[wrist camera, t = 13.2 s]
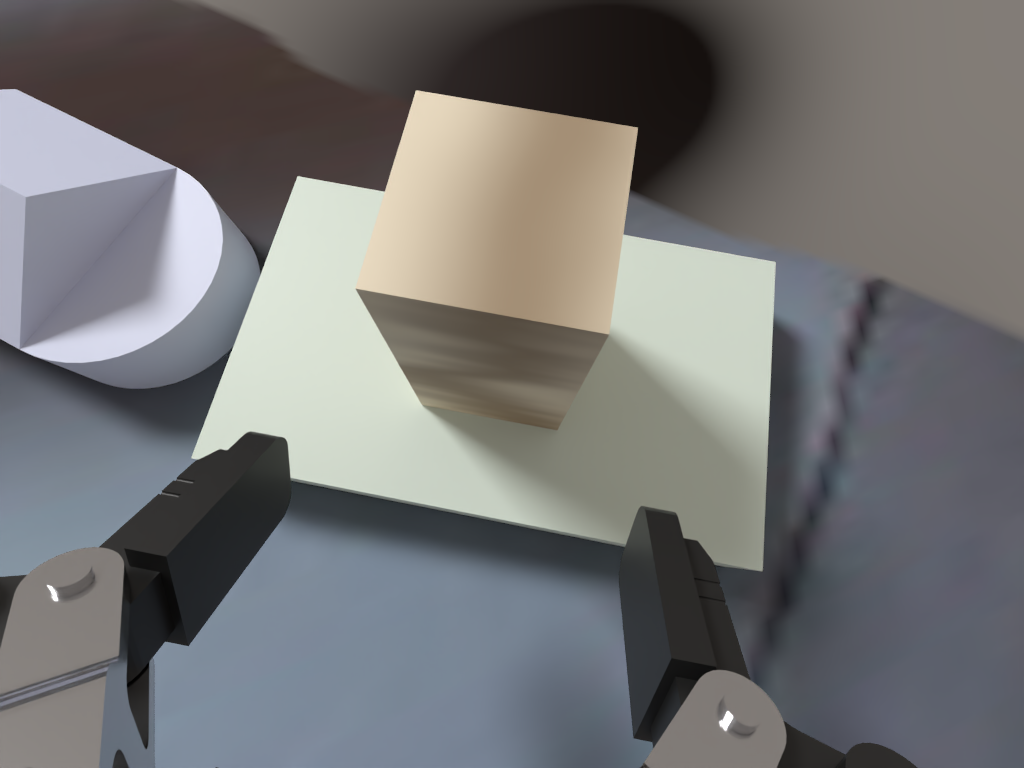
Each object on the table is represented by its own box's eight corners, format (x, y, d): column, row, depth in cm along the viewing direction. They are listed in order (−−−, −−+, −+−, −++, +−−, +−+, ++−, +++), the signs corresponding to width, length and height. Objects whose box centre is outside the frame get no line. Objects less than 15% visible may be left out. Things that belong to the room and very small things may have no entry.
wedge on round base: (-62, 292, 23) (176, 425, 21) (-285, 195, 16) (36, 375, 15) (77, 146, 25) (300, 256, 24) (-69, 11, 19) (225, 150, 17)
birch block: (421, 404, 18) (355, 288, 10) (451, 283, 20) (416, 90, 11) (557, 430, 18) (609, 334, 10) (577, 306, 20) (638, 128, 11)
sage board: (234, 469, 21) (191, 457, 18) (321, 219, 24) (297, 176, 21) (724, 566, 20) (762, 571, 17) (741, 295, 23) (775, 262, 21)
